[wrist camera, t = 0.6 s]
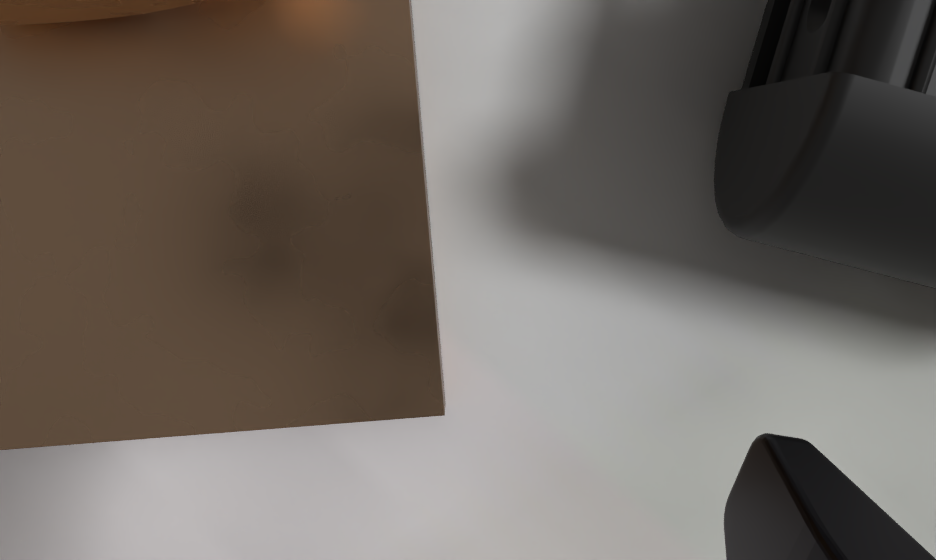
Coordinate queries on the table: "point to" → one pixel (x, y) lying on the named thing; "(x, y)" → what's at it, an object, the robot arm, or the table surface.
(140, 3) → the gold rounded piece
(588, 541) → the table surface
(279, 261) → the housing
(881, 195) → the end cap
